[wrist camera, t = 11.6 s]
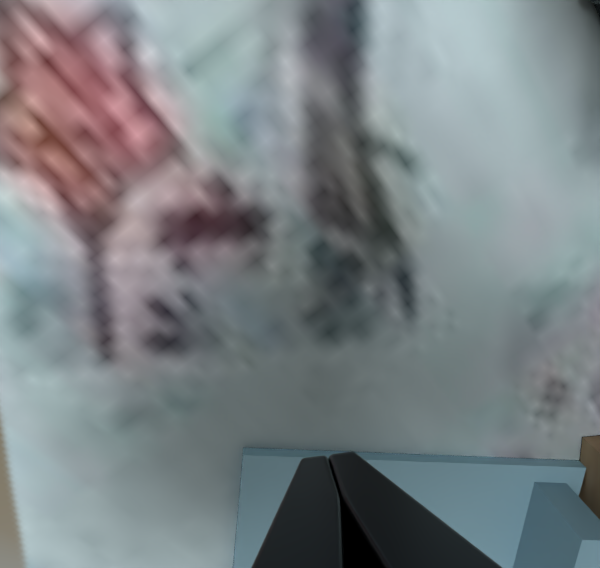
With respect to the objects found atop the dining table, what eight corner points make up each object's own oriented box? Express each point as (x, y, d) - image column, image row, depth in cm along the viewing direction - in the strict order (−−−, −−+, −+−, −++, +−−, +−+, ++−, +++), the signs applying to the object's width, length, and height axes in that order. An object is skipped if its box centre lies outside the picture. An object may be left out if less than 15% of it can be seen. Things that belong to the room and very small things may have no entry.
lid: (573, 454, 25) (642, 523, 20) (542, 570, 26) (600, 656, 22) (243, 441, 23) (242, 513, 18) (232, 566, 24) (229, 659, 20)
